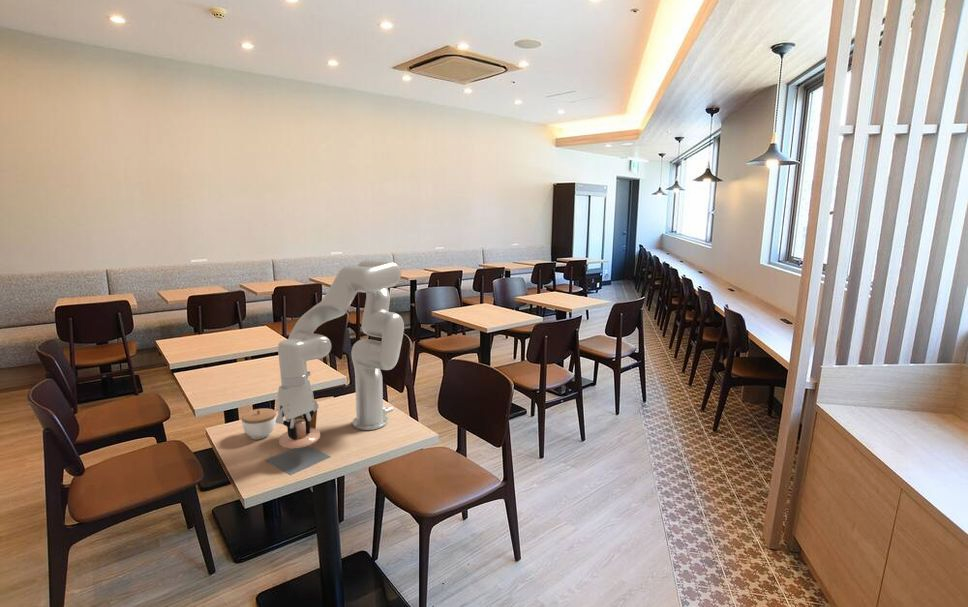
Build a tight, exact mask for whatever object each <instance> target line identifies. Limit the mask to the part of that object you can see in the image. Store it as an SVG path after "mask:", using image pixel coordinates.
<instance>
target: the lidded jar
mask: <svg viewBox="0 0 968 607" xmlns="http://www.w3.org/2000/svg"><path fill="white" fill-rule="evenodd" d="M276 415H277V412H276V411H275V410H274V409H272V408H267V407H266V408H255V409H252V410H250V411H246V412H245V413H243V414H242V415H241V423H242V428H243V431H244V432H245V434H246V435H247V436H248V437H250V438H251V439H253V440H262V438H263V439H265V437H266V438H268V437H269V436H270V435H271V434H272V432H273V431H274V430H275V427H276V423H277V422H276V419H277V416H276Z"/></svg>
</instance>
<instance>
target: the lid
mask: <svg viewBox="0 0 968 607" xmlns="http://www.w3.org/2000/svg"><path fill="white" fill-rule="evenodd" d="M294 427H295V428H296V436H297V439H295V440H294V439H292V438H290V437H289V436H288V431H286V432H284V433H283V434H281V436H279V438H278V443H279V445H280V446H281V447H282V448H286V449H294V448H301V447H305V446H311V445H313V444H315V443H316V442H318V441H319V439H321V431H320V430H318V429H317V428H316V429H315V428H310V433H309V434H307V433H306V422H305V419H295V420H294Z"/></svg>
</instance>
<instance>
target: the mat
mask: <svg viewBox="0 0 968 607" xmlns="http://www.w3.org/2000/svg"><path fill="white" fill-rule="evenodd" d="M330 458H331V455H329V454H327V453H325V452H322V451H320V450H318V449H317V448H314V447H313V446H311V445H309V446H305V447H301V448H291V449H290V450H287V451H284V452H282V453H279V454H277V455H274V456H273V457H270V458H268V459H265V460H264V461H265V462H267V463H268V464H270V465H272V466H273V467H276V468H277V469H279V470H281V471H282V472H284V473H287V474H288V475H290V476H292V475H295V474H296V473H299V472H301V471H303V470H305V469H308V468H310V467H312V466H314V465H316V464H318V463H320V462H323V461H325V460H328V459H330Z"/></svg>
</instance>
